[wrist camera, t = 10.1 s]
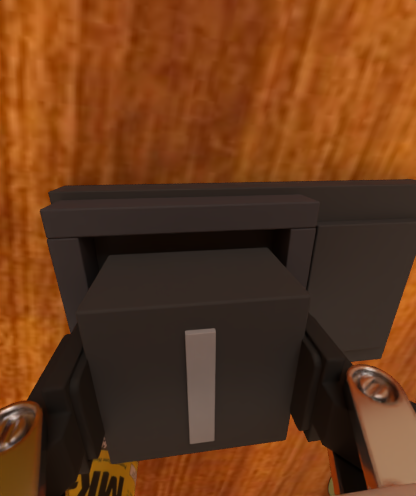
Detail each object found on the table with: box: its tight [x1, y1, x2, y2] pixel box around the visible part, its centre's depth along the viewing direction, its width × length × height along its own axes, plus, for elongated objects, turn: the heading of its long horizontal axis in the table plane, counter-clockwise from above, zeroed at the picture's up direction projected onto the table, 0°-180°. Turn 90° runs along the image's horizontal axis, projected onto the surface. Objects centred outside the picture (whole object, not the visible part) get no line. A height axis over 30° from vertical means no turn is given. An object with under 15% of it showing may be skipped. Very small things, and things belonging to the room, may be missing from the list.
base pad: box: [40, 179, 416, 362], centre depth 12 cm, size 10×16×3 cm, turn 90°
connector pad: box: [75, 248, 311, 464], centre depth 9 cm, size 6×6×4 cm
